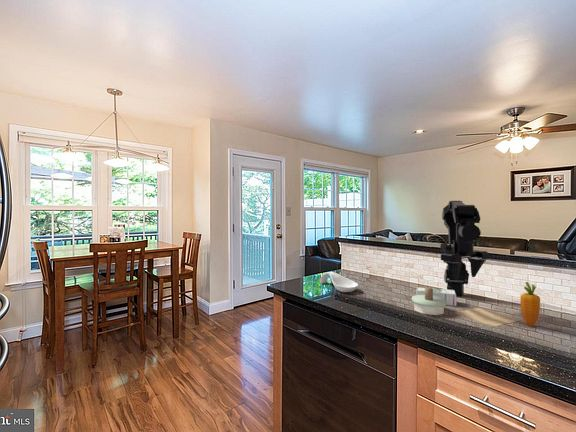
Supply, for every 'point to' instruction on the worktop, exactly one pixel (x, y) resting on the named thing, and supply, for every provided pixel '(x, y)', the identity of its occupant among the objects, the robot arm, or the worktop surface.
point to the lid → (429, 299)
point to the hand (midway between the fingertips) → (464, 278)
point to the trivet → (487, 317)
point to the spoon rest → (339, 282)
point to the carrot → (530, 305)
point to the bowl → (429, 309)
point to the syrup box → (441, 295)
